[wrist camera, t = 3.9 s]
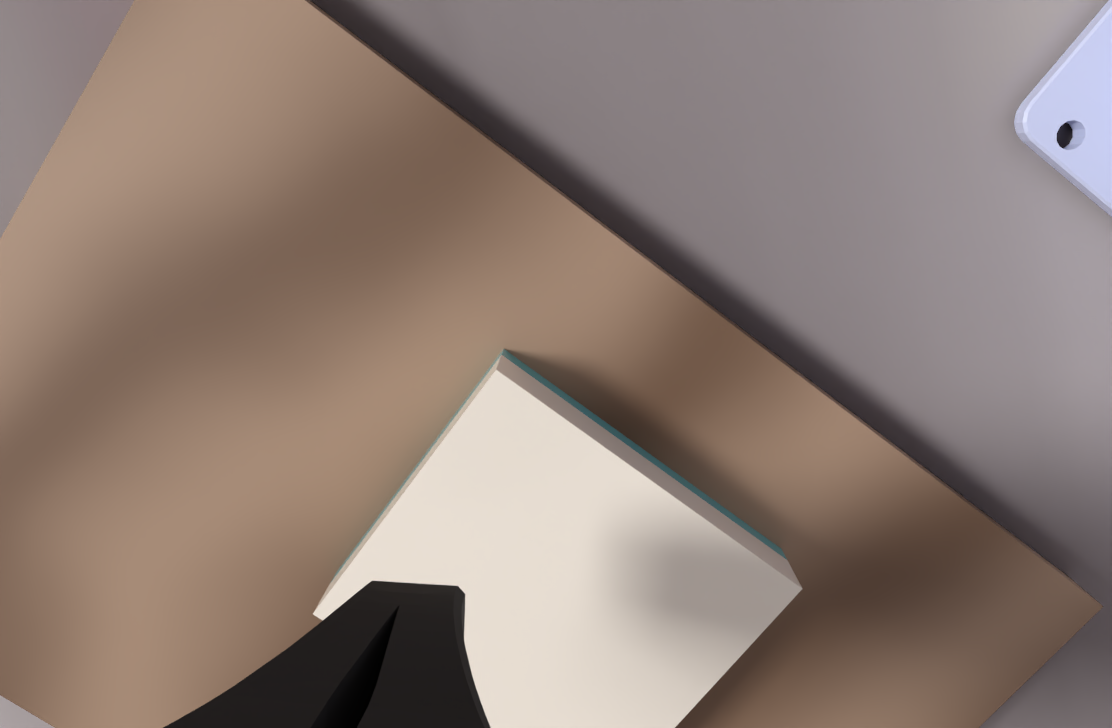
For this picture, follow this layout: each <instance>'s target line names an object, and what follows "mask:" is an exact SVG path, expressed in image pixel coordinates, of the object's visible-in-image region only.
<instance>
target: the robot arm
mask: <svg viewBox="0 0 1112 728" xmlns="http://www.w3.org/2000/svg"><path fill="white" fill-rule="evenodd" d="M1065 122H1066V123H1068V124H1069V125H1070V126H1071V128H1072V129H1073V138H1072V140H1071V141H1070V143H1069V145H1067V146H1066V147H1065V148H1061V147H1060V146H1059V144H1058V143H1057V132H1058V130H1059V128H1060V126H1061V125H1063V124H1064V123H1065ZM1014 125H1015V130H1016V134H1017V135H1018V136H1019V138H1020V139H1021V140H1022V142H1024V143H1025V144H1026V145H1027V146H1028V147H1030V148H1031V149H1032V150H1033V151H1034V152H1035V153H1037V154H1038V155H1039V156H1040V157H1041V158H1043V159H1044V160H1045V161H1046V162H1047V163H1048V164H1050V165H1051V166H1052V167H1053V168H1054V169H1056V170H1057V171H1058V172H1059V173H1060V174H1061V175H1063V176H1064V177H1065V178H1066V179H1067V180H1069V181H1070V182H1071V183H1072V184H1073V185H1074V186H1076V187H1077V188H1078V189H1079V190H1080V191H1082V192H1083V193H1084V194H1085V195H1086V196H1087V197H1089V198H1090V199H1091V200H1092V201H1093V202H1095V203H1096V204H1097V205H1098V206H1099V207H1100V208H1102V209H1103V210H1104V211H1105V212H1106V213H1108V214H1109V215H1110V216H1111V217H1112V0H1109V1H1108V2H1107V3H1106V4H1105V5H1104V7H1103V8H1102V9H1101V10H1100V11H1099V12H1098V14H1097V15H1096V16H1095V17H1094V18H1093V19H1092V21H1091V22H1090V23H1089V24H1088V25H1087V27H1086V28H1085V29H1084V30H1083V31H1082V32H1081V34H1080V35H1079V36H1078V37H1077V38H1076V39H1075V41H1074V42H1073V43H1072V44H1071V45H1070V47H1069V48H1068V49H1067V50H1066V51H1065V52H1064V54H1063V55H1062V56H1061V57H1060V58H1059V60H1058V61H1057V62H1056V63H1055V64H1054V65H1053V67H1052V68H1051V69H1050V70H1049V71H1048V72H1047V74H1046V75H1045V76H1044V77H1043V78H1042V80H1041V81H1040V82H1039V83H1038V84H1037V85H1036V87H1035V88H1034V89H1033V90H1032V91H1031V92H1030V94H1029V95H1028V96H1027V97H1026V98H1025V100H1024V101H1023V102H1022V103H1021V105H1020V107H1019V108H1018V110H1017V112H1016V115H1015V121H1014ZM464 623H465V593H464V592H463V591H462V590H461V589H460V588H459V587H458V586H452V585H436V584H419V583H403V582H386V581H371V582H370V583H368V584H367V585H366V586H364V587H363V588H362V589H361V590H359V591H358V592H357V593H356V594H355V595H353V596H352V597H351V598H350V599H348V600H347V601H346V602H345V603H343V604H342V605H341V606H340V607H339V608H337V609H336V610H335V611H334V612H333V613H331V614H330V615H329V616H328V617H326V618H325V619H324V620H323V621H322V622H320V623H319V624H318V625H317V626H315V627H314V628H313V629H312V630H310V631H309V632H308V633H306V634H305V635H304V636H303V637H301V638H300V639H299V640H298V641H296V642H295V643H294V644H292V645H291V646H290V647H288V648H287V649H286V650H284V651H283V652H281V653H280V654H279V655H277V656H276V657H274V658H273V659H272V660H270V661H269V662H267V663H266V664H264V665H263V666H262V667H260V668H259V669H257V670H256V671H254V672H253V673H252V674H250V675H249V676H247V677H246V678H244V679H243V680H242V681H240V682H239V683H237V684H236V685H234V686H233V687H231V688H230V689H228V690H227V691H225V692H223V693H222V694H220V695H219V696H217V697H215V698H214V699H212V700H211V701H209V702H207V703H206V704H204V705H202V706H201V707H199V708H197V709H195V710H194V711H192V712H190V713H188V714H186V715H185V716H183V717H181V718H179V719H178V720H176V721H174V722H172V723H171V724H169V725H167V726H165V727H163V728H491V727H490V725H489V722H488V720H487V717H486V715H485V712H484V710H483V707H482V704H481V701H480V698H479V695H478V692H477V690H476V686H475V683H474V680H473V676H472V673H471V669H470V665H469V660H468V656H467V652H466V648H465V642H464Z"/></svg>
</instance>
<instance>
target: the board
mask: <svg viewBox="0 0 1112 728" xmlns="http://www.w3.org/2000/svg"><path fill="white" fill-rule="evenodd" d="M503 349H505V350H506V351H508V352H509V353H510V354H512V355H513V356H515V357H516V358H517V359H519V360H520V361H522V362H523V363H524V364H526V365H527V366H529V367H530V368H531V369H533V370H534V371H535V372H537V373H538V374H540V375H541V376H542V377H544V378H545V379H547V380H548V381H549V382H551V383H552V384H554V385H555V386H556V387H558V388H559V389H560V390H562V391H563V392H565V393H566V394H567V395H569V396H570V397H572V398H573V399H574V400H576V401H577V402H578V403H580V404H581V405H583V406H584V407H585V408H587V409H588V410H590V411H591V412H592V413H594V414H595V415H597V416H598V417H599V418H601V419H602V420H603V421H605V422H606V423H608V424H609V425H610V426H612V427H613V428H615V429H616V430H617V431H619V432H620V433H622V434H623V435H624V436H626V437H627V438H628V439H630V440H631V441H633V442H634V443H635V444H637V445H638V446H640V447H641V448H642V449H644V450H645V451H646V452H648V453H649V454H651V455H652V456H653V457H655V458H656V459H658V460H659V461H660V462H662V463H663V464H665V465H666V466H667V467H669V468H670V469H671V470H673V471H674V472H676V473H677V474H678V475H680V476H681V477H683V478H684V479H685V480H687V481H688V482H690V483H691V484H692V485H694V486H695V487H696V488H698V489H699V490H701V491H702V492H703V493H705V494H706V495H708V496H709V497H710V498H712V499H713V500H715V501H716V502H717V503H719V504H720V505H721V506H723V507H724V508H726V509H727V510H728V511H730V512H731V513H733V514H734V515H735V516H737V517H738V518H739V519H741V520H742V521H744V522H745V523H746V524H748V525H749V526H751V527H752V528H753V529H755V530H756V531H758V532H759V533H760V534H762V535H763V536H764V537H766V538H767V539H769V540H770V541H771V542H773V543H774V544H776V545H777V546H778V547H780V548H781V549H782V551H783V553H784V554H785V556H786V558H787V560H788V562H789V564H790V566H791V568H792V570H793V572H794V573H795V575H796V577H797V579H798V581H799V583H800V585H801V587H802V590H801V591H800V592H799V593H798V594H797V595H796V596H795V598H794V599H793V600H792V601H791V602H790V603H789V604H788V605H787V606H786V607H785V608H784V609H783V611H782V612H781V613H780V614H779V615H778V616H777V617H776V618H775V619H774V620H773V621H772V623H771V624H770V625H769V626H768V627H767V628H766V629H765V630H764V631H763V632H762V633H761V635H760V636H759V637H758V638H757V639H756V640H755V641H754V642H753V643H752V644H751V645H750V647H749V648H748V649H747V650H746V651H745V652H744V653H743V654H742V655H741V656H740V657H739V659H738V660H737V661H736V662H735V663H734V664H733V665H732V666H731V667H730V668H729V669H728V670H727V672H726V673H725V674H724V675H723V676H722V677H721V678H720V679H719V680H718V681H717V682H716V684H715V685H714V686H713V687H712V688H711V689H710V690H709V691H708V692H707V693H706V694H705V696H704V697H703V698H702V699H701V700H700V701H699V702H698V703H697V704H696V705H695V706H694V708H693V709H692V710H691V711H690V712H689V713H688V714H687V715H686V716H685V717H684V718H683V720H682V721H681V722H680V723H679V724H678V725H677V726H676V727H675V728H979V727H980V726H981V725H982V724H983V723H984V722H985V721H986V720H987V719H988V718H989V717H990V716H991V715H992V714H993V713H994V712H995V711H996V710H997V709H998V708H999V707H1000V706H1002V705H1003V704H1004V703H1005V702H1006V701H1007V700H1008V699H1009V698H1010V697H1011V696H1012V695H1013V694H1014V693H1015V692H1016V691H1017V690H1018V689H1019V688H1020V687H1021V686H1022V685H1023V684H1024V683H1025V682H1026V681H1027V680H1028V679H1029V678H1030V677H1031V676H1032V675H1033V674H1035V673H1036V672H1037V671H1038V670H1039V669H1040V668H1041V667H1042V666H1043V665H1044V664H1045V663H1046V662H1047V661H1048V660H1049V659H1050V658H1051V657H1052V656H1053V655H1054V654H1055V653H1056V652H1057V651H1058V650H1059V649H1060V648H1061V647H1062V646H1063V645H1064V644H1065V643H1066V642H1068V641H1069V640H1070V639H1071V638H1072V637H1073V636H1074V635H1075V634H1076V633H1077V632H1078V631H1079V630H1080V629H1081V628H1082V627H1083V626H1084V625H1085V624H1086V623H1087V622H1088V621H1089V620H1090V619H1091V618H1092V617H1093V616H1094V615H1095V614H1096V613H1097V612H1098V611H1100V610H1101V609H1102V608H1103V606H1102V605H1101V604H1100V603H1099V602H1098V601H1096V600H1095V599H1094V598H1093V597H1092V596H1091V595H1089V594H1088V593H1087V592H1086V591H1085V590H1084V589H1082V588H1081V587H1080V586H1079V585H1078V584H1076V583H1075V582H1074V581H1073V580H1072V579H1071V578H1069V577H1068V576H1067V575H1065V574H1064V573H1063V572H1062V571H1060V570H1059V569H1058V568H1056V567H1055V566H1054V565H1052V564H1051V563H1050V562H1048V561H1047V560H1046V559H1044V558H1043V557H1042V556H1040V555H1039V554H1038V553H1037V552H1035V551H1034V550H1033V549H1031V548H1030V547H1029V546H1027V545H1026V544H1025V543H1023V542H1022V541H1021V540H1019V539H1018V538H1017V537H1015V536H1014V535H1013V534H1012V533H1010V532H1009V531H1008V530H1006V529H1005V528H1004V527H1002V526H1001V525H1000V524H998V523H997V522H996V521H994V520H993V519H992V518H990V517H989V516H988V515H987V514H985V513H984V512H983V511H981V510H980V509H979V508H977V507H976V506H975V505H973V504H972V503H971V502H969V501H968V500H967V499H965V498H964V497H963V496H962V495H960V494H959V493H958V492H956V491H955V490H954V489H952V488H951V487H950V486H948V485H947V484H946V483H944V482H943V481H942V480H940V479H939V478H938V477H936V476H935V475H934V474H933V473H931V472H930V471H929V470H927V469H926V468H925V467H923V466H922V465H921V464H919V463H918V462H917V461H915V460H914V459H913V458H911V457H910V456H909V455H908V454H906V453H905V452H904V451H902V450H901V449H900V448H898V447H897V446H896V445H894V444H893V443H892V442H890V441H889V440H888V439H886V438H885V437H884V436H883V435H881V434H880V433H879V432H877V431H876V430H875V429H873V428H872V427H871V426H869V425H868V424H867V423H865V422H864V421H863V420H861V419H860V418H859V417H858V416H856V415H855V414H854V413H852V412H851V411H850V410H848V409H847V408H846V407H844V406H843V405H842V404H840V403H839V402H838V401H836V400H835V399H834V398H833V397H831V396H830V395H829V394H827V393H826V392H825V391H823V390H822V389H821V388H819V387H818V386H817V385H815V384H814V383H813V382H811V381H810V380H809V379H807V378H806V377H805V376H804V375H802V374H801V373H800V372H798V371H797V370H796V369H794V368H793V367H792V366H790V365H789V364H788V363H786V362H785V361H784V360H782V359H781V358H780V357H779V356H777V355H776V354H775V353H773V352H772V351H771V350H769V349H768V348H767V347H765V346H764V345H763V344H761V343H760V342H759V341H757V340H756V339H755V338H754V337H752V336H751V335H750V334H748V333H747V332H746V331H744V330H743V329H742V328H740V327H739V326H738V325H736V324H735V323H734V322H732V321H731V320H730V319H729V318H727V317H726V316H725V315H723V314H722V313H721V312H719V311H718V310H717V309H715V308H714V307H713V306H711V305H710V304H709V303H707V302H706V301H705V300H704V299H702V298H701V297H700V296H698V295H697V294H696V293H694V292H693V291H692V290H690V289H689V288H688V287H686V286H685V285H684V284H682V283H681V282H680V281H678V280H677V279H676V278H675V277H673V276H672V275H671V274H669V273H668V272H667V271H665V270H664V269H663V268H661V267H660V266H659V265H657V264H656V263H655V262H653V261H652V260H651V259H650V258H648V257H647V256H646V255H644V254H643V253H642V252H640V251H639V250H638V249H636V248H635V247H634V246H632V245H631V244H630V243H628V242H627V241H626V240H625V239H623V238H622V237H621V236H619V235H618V234H617V233H615V232H614V231H613V230H611V229H610V228H609V227H607V226H606V225H605V224H603V223H602V222H601V221H600V220H598V219H597V218H596V217H594V216H593V215H592V214H590V213H589V212H588V211H586V210H585V209H584V208H582V207H581V206H580V205H578V204H577V203H576V202H575V201H573V200H572V199H571V198H569V197H568V196H567V195H565V194H564V193H563V192H561V191H560V190H559V189H557V188H556V187H555V186H553V185H552V184H551V183H549V182H548V181H547V180H546V179H544V178H543V177H542V176H540V175H539V174H538V173H536V172H535V171H534V170H532V169H531V168H530V167H528V166H527V165H526V164H524V163H523V162H522V161H521V160H519V159H518V158H517V157H515V156H514V155H513V154H511V153H510V152H509V151H507V150H506V149H505V148H503V147H502V146H501V145H499V144H498V143H497V142H496V141H494V140H493V139H492V138H490V137H489V136H488V135H486V134H485V133H484V132H482V131H481V130H480V129H478V128H477V127H476V126H474V125H473V124H472V123H471V122H469V121H468V120H467V119H465V118H464V117H463V116H461V115H460V114H459V113H457V112H456V111H455V110H453V109H452V108H451V107H449V106H448V105H447V104H446V103H444V102H443V101H442V100H440V99H439V98H438V97H436V96H435V95H434V94H432V93H431V92H430V91H428V90H427V89H426V88H424V87H423V86H422V85H420V84H419V83H418V82H417V81H415V80H414V79H413V78H411V77H410V76H409V75H407V74H406V73H405V72H403V71H402V70H401V69H399V68H398V67H397V66H395V65H394V64H393V63H392V62H390V61H389V60H388V59H386V58H385V57H384V56H382V55H381V54H380V53H378V52H377V51H376V50H374V49H373V48H372V47H370V46H369V45H368V44H367V43H365V42H364V41H363V40H361V39H360V38H359V37H357V36H356V35H355V34H353V33H352V32H351V31H349V30H348V29H347V28H345V27H344V26H343V25H342V24H340V23H339V22H338V21H336V20H335V19H334V18H332V17H331V16H330V15H328V14H327V13H326V12H324V11H323V10H322V9H320V8H319V7H318V6H317V5H315V4H314V3H313V2H311V1H310V0H134V2H133V4H132V6H131V7H130V9H129V11H128V13H127V15H126V16H125V18H124V20H123V22H122V23H121V25H120V27H119V29H118V31H117V32H116V34H115V36H114V38H113V39H112V41H111V43H110V45H109V47H108V48H107V50H106V52H105V54H104V55H103V57H102V59H101V61H100V63H99V64H98V66H97V68H96V70H95V71H94V73H93V75H92V77H91V79H90V80H89V82H88V84H87V86H86V87H85V89H84V91H83V93H82V95H81V96H80V98H79V100H78V102H77V103H76V105H75V107H74V109H73V111H72V112H71V114H70V116H69V118H68V119H67V121H66V123H65V125H64V127H63V128H62V130H61V132H60V134H59V135H58V137H57V139H56V141H55V143H54V144H53V146H52V148H51V150H50V151H49V153H48V155H47V157H46V159H45V160H44V162H43V164H42V166H41V167H40V169H39V171H38V173H37V175H36V176H35V178H34V180H33V182H32V183H31V185H30V187H29V189H28V191H27V192H26V194H25V196H24V198H23V199H22V201H21V203H20V205H19V207H18V208H17V210H16V212H15V214H14V215H13V217H12V219H11V221H10V223H9V224H8V226H7V228H6V230H5V231H4V233H3V235H2V237H1V239H0V695H1V696H3V697H4V698H6V699H8V700H9V701H11V702H13V703H14V704H16V705H18V706H19V707H21V708H23V709H24V710H26V711H28V712H29V713H31V714H33V715H35V716H36V717H38V718H40V719H41V720H43V721H45V722H46V723H48V724H50V725H51V726H53V727H55V728H163V727H165V726H167V725H169V724H171V723H172V722H174V721H176V720H178V719H179V718H181V717H183V716H185V715H186V714H188V713H190V712H192V711H194V710H195V709H197V708H199V707H201V706H202V705H204V704H206V703H207V702H209V701H211V700H212V699H214V698H215V697H217V696H219V695H220V694H222V693H223V692H225V691H227V690H228V689H230V688H231V687H233V686H234V685H236V684H237V683H239V682H240V681H242V680H243V679H244V678H246V677H247V676H249V675H250V674H252V673H253V672H254V671H256V670H257V669H259V668H260V667H262V666H263V665H264V664H266V663H267V662H269V661H270V660H272V659H273V658H274V657H276V656H277V655H279V654H280V653H281V652H283V651H284V650H286V649H287V648H288V647H290V646H291V645H292V644H294V643H295V642H296V641H298V640H299V639H300V638H301V637H303V636H304V635H305V634H306V633H308V632H309V631H310V630H312V629H313V628H314V627H315V626H317V625H318V624H319V623H320V622H322V621H323V620H321V619H319V618H318V617H316V616H315V615H313V613H314V611H315V609H316V607H317V606H318V604H319V602H320V600H321V599H322V597H323V595H324V593H325V591H326V590H327V588H328V586H329V584H330V583H331V581H332V579H333V577H334V576H335V574H336V572H337V571H338V570H339V568H340V567H341V566H342V564H343V563H344V562H345V560H346V559H347V558H348V556H349V555H350V554H351V552H352V551H353V550H354V548H355V547H356V546H357V544H358V543H359V542H360V540H361V539H362V538H363V536H364V535H365V534H366V532H367V531H368V530H369V528H370V527H371V525H372V524H373V523H374V521H375V520H376V519H377V517H378V516H379V515H380V513H381V512H382V511H383V509H384V508H385V507H386V505H387V504H388V503H389V501H390V500H391V499H392V497H393V496H394V495H395V493H396V492H397V491H398V489H399V488H400V487H401V485H402V484H403V483H404V481H405V480H406V479H407V477H408V476H409V475H410V473H411V472H412V471H413V469H414V468H415V467H416V465H417V464H418V463H419V461H420V460H421V459H422V457H423V456H424V455H425V453H426V452H427V451H428V449H429V448H430V447H431V445H432V444H433V443H434V441H435V440H436V439H437V437H438V436H439V435H440V433H441V432H442V431H443V429H444V428H445V427H446V425H447V424H448V423H449V421H450V420H451V419H452V417H453V416H454V415H455V413H456V412H457V410H458V409H459V408H460V406H461V405H462V404H463V402H464V401H465V400H466V398H467V397H468V396H469V394H470V393H471V392H472V390H473V389H474V388H475V386H476V385H477V384H478V382H479V381H480V380H481V378H482V377H483V376H484V374H485V373H486V372H487V370H488V369H489V368H490V366H491V365H492V364H493V362H494V361H495V360H496V358H497V357H498V356H499V354H500V353H501V352H502V350H503Z"/></svg>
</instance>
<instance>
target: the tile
mask: <svg viewBox="0 0 1112 728" xmlns="http://www.w3.org/2000/svg"><path fill="white" fill-rule="evenodd" d="M371 581H386V582H403V583H419V584H436V585H452V586H458V587H459V588H460V589H461V590H462V591H463V592H464V593H465V623H464V642H465V648H466V652H467V656H468V660H469V665H470V669H471V673H472V676H473V680H474V683H475V686H476V690H477V692H478V695H479V698H480V701H481V704H482V707H483V710H484V712H485V715H486V717H487V720H488V722H489V725H490V727H491V728H675V727H676V726H677V725H678V724H679V723H680V722H681V721H682V720H683V718H684V717H685V716H686V715H687V714H688V713H689V712H690V711H691V710H692V709H693V708H694V706H695V705H696V704H697V703H698V702H699V701H700V700H701V699H702V698H703V697H704V696H705V694H706V693H707V692H708V691H709V690H710V689H711V688H712V687H713V686H714V685H715V684H716V682H717V681H718V680H719V679H720V678H721V677H722V676H723V675H724V674H725V673H726V672H727V670H728V669H729V668H730V667H731V666H732V665H733V664H734V663H735V662H736V661H737V660H738V659H739V657H740V656H741V655H742V654H743V653H744V652H745V651H746V650H747V649H748V648H749V647H750V645H751V644H752V643H753V642H754V641H755V640H756V639H757V638H758V637H759V636H760V635H761V633H762V632H763V631H764V630H765V629H766V628H767V627H768V626H769V625H770V624H771V623H772V621H773V620H774V619H775V618H776V617H777V616H778V615H779V614H780V613H781V612H782V611H783V609H784V608H785V607H786V606H787V605H788V604H789V603H790V602H791V601H792V600H793V599H794V598H795V596H796V595H797V594H798V593H799V592H800V591H801V590H802V587H801V585H800V583H799V581H798V579H797V577H796V575H795V573H794V572H793V570H792V568H791V566H790V564H789V562H788V560H787V558H786V556H785V554H784V553H783V551H782V549H781V548H780V547H778V546H777V545H776V544H774V543H773V542H771V541H770V540H769V539H767V538H766V537H764V536H763V535H762V534H760V533H759V532H758V531H756V530H755V529H753V528H752V527H751V526H749V525H748V524H746V523H745V522H744V521H742V520H741V519H739V518H738V517H737V516H735V515H734V514H733V513H731V512H730V511H728V510H727V509H726V508H724V507H723V506H721V505H720V504H719V503H717V502H716V501H715V500H713V499H712V498H710V497H709V496H708V495H706V494H705V493H703V492H702V491H701V490H699V489H698V488H696V487H695V486H694V485H692V484H691V483H690V482H688V481H687V480H685V479H684V478H683V477H681V476H680V475H678V474H677V473H676V472H674V471H673V470H671V469H670V468H669V467H667V466H666V465H665V464H663V463H662V462H660V461H659V460H658V459H656V458H655V457H653V456H652V455H651V454H649V453H648V452H646V451H645V450H644V449H642V448H641V447H640V446H638V445H637V444H635V443H634V442H633V441H631V440H630V439H628V438H627V437H626V436H624V435H623V434H622V433H620V432H619V431H617V430H616V429H615V428H613V427H612V426H610V425H609V424H608V423H606V422H605V421H603V420H602V419H601V418H599V417H598V416H597V415H595V414H594V413H592V412H591V411H590V410H588V409H587V408H585V407H584V406H583V405H581V404H580V403H578V402H577V401H576V400H574V399H573V398H572V397H570V396H569V395H567V394H566V393H565V392H563V391H562V390H560V389H559V388H558V387H556V386H555V385H554V384H552V383H551V382H549V381H548V380H547V379H545V378H544V377H542V376H541V375H540V374H538V373H537V372H535V371H534V370H533V369H531V368H530V367H529V366H527V365H526V364H524V363H523V362H522V361H520V360H519V359H517V358H516V357H515V356H513V355H512V354H510V353H509V352H508V351H506V350H505V349H503V350H502V352H501V353H500V354H499V356H498V357H497V358H496V360H495V361H494V362H493V364H492V365H491V366H490V368H489V369H488V370H487V372H486V373H485V374H484V376H483V377H482V378H481V380H480V381H479V382H478V384H477V385H476V386H475V388H474V389H473V390H472V392H471V393H470V394H469V396H468V397H467V398H466V400H465V401H464V402H463V404H462V405H461V406H460V408H459V409H458V410H457V412H456V413H455V415H454V416H453V417H452V419H451V420H450V421H449V423H448V424H447V425H446V427H445V428H444V429H443V431H442V432H441V433H440V435H439V436H438V437H437V439H436V440H435V441H434V443H433V444H432V445H431V447H430V448H429V449H428V451H427V452H426V453H425V455H424V456H423V457H422V459H421V460H420V461H419V463H418V464H417V465H416V467H415V468H414V469H413V471H412V472H411V473H410V475H409V476H408V477H407V479H406V480H405V481H404V483H403V484H402V485H401V487H400V488H399V489H398V491H397V492H396V493H395V495H394V496H393V497H392V499H391V500H390V501H389V503H388V504H387V505H386V507H385V508H384V509H383V511H382V512H381V513H380V515H379V516H378V517H377V519H376V520H375V521H374V523H373V524H372V525H371V527H370V528H369V530H368V531H367V532H366V534H365V535H364V536H363V538H362V539H361V540H360V542H359V543H358V544H357V546H356V547H355V548H354V550H353V551H352V552H351V554H350V555H349V556H348V558H347V559H346V560H345V562H344V563H343V564H342V566H341V567H340V568H339V570H338V571H337V572H336V574H335V576H334V577H333V579H332V581H331V583H330V584H329V586H328V588H327V590H326V591H325V593H324V595H323V597H322V599H321V600H320V602H319V604H318V606H317V607H316V609H315V611H314V613H313V615H315V616H316V617H318V618H319V619H321V620H324V619H325V618H326V617H328V616H329V615H330V614H331V613H333V612H334V611H335V610H336V609H337V608H339V607H340V606H341V605H342V604H343V603H345V602H346V601H347V600H348V599H350V598H351V597H352V596H353V595H355V594H356V593H357V592H358V591H359V590H361V589H362V588H363V587H364V586H366V585H367V584H368V583H370V582H371Z"/></svg>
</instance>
